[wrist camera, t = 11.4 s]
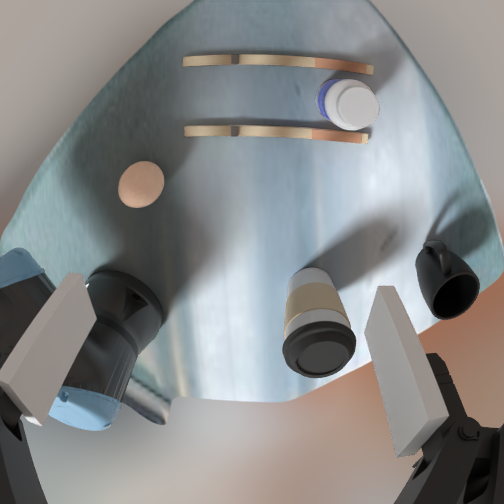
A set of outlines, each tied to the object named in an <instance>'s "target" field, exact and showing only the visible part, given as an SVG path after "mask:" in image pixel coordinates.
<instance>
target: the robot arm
mask: <svg viewBox="0 0 504 504" xmlns="http://www.w3.org/2000/svg"><path fill="white" fill-rule="evenodd" d="M162 318H163V315H162V309H161V306H160V303H159V301H158V299H157V298H156V296H155V295H154V294H153V292H152V291H151V290H150V289H149V288H148V287H147V286H146V285H144V284H143V283H142V282H140V281H139V280H137V279H136V278H134V277H132V276H130V275H128V274H125V273H122V272H118V271H101V272H98V273H95V274H93V275H92V276H91V277H89V278H88V280H87V281H86V282H84V279H83V275H82V274H79V273H68V275H67V276H66V277H65V279H64V280H63V281H62V282H61V284H60V285H59V286H58V287H57V288H56V287H55V286H54V284H53V283H52V282H51V280H50V279H49V278H48V276H47V275H46V274H45V270H44V269H43V268H41V267H40V266H39V265H38V263H37V262H36V261H35V260H34V258H33V257H32V256H31V255H30V253H29V252H28V251H27V250H25V249H23V248H14V249H12V250H10V251H9V252H7V253H6V254H5V255H3V256H2V257H0V504H48V503H47V501H46V498H45V496H44V493H43V490H42V488H41V485H40V482H39V479H38V476H37V473H36V470H35V467H34V464H33V461H32V457H31V454H30V450H29V446H28V443H27V439H26V435H25V431H24V428H23V423H22V421H21V420H20V416H21V414H23V415H24V416H25V417H26V419H27V420H28V421H29V422H32V423H34V424H37V425H40V426H43V424H44V422H45V420H46V418H47V416H48V415H50V416H52V417H53V418H55V419H57V420H59V421H61V422H63V423H65V424H68V425H70V426H73V427H77V428H80V429H85V430H92V431H93V430H94V431H99V430H104V429H107V428H108V427H110V426H111V425H112V423H113V421H114V419H115V417H116V415H117V413H118V410H119V409H120V408H121V403H122V400H123V397H124V394H125V391H126V388H127V385H128V382H129V379H130V376H131V373H132V371H133V368H134V365H135V362H136V360H137V357H138V355H139V354H140V353H141V352H142V351H143V350H144V349H145V347H146V346H147V345H148V344H149V343H150V342H151V341H152V340H153V339H154V338H155V337H156V335H157V334H158V331H159V329H160V326H161V323H162ZM364 334H365V337H366V341H367V344H368V347H369V351H370V354H371V358H372V361H373V365H374V369H375V372H376V376H377V380H378V384H379V387H380V391H381V395H382V399H383V403H384V407H385V411H386V415H387V419H388V424H389V428H390V432H391V436H392V441H393V446H394V450H395V455H396V458H399V457H404V456H410V455H414V454H415V453H417V452H418V450H419V449H420V448H421V447H422V451H423V456H422V457H421V458H420V459H419V460H418V461H417V462H416V463H415V464H414V465H413V466H412V467H413V468H415V467H416V468H415V470H414V472H413V473H412V475H411V477H410V478H409V480H408V482H407V483H406V485H405V487H404V488H403V490H402V492H401V493H400V495H399V497H398V498H397V500H396V501H395V503H394V504H504V424H503V425H502V426H501V427H500V428H488V427H481V426H480V424H479V423H478V422H477V421H476V420H475V419H473V418H470V417H468V416H467V414H466V412H465V410H464V407H463V405H462V402H461V400H460V397H459V395H458V392H457V390H456V387H455V385H454V384H453V380H452V378H451V375H449V371H448V369H447V366H446V364H445V362H444V361H443V360H442V359H441V358H440V357H439V356H438V354H437V353H430V354H425V352H424V350H423V348H422V345H421V343H420V341H419V338H418V336H417V334H416V331H415V329H414V327H413V325H412V323H411V320H410V318H409V316H408V314H407V312H406V310H405V308H404V305H403V303H402V301H401V299H400V297H399V295H398V293H397V291H396V289H395V287H394V286H378V288H377V291H376V295H375V298H374V302H373V305H372V309H371V312H370V315H369V319H368V322H367V325H366V328H365V331H364Z"/></svg>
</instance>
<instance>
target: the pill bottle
mask: <svg viewBox="0 0 504 504" xmlns="http://www.w3.org/2000/svg"><path fill="white" fill-rule="evenodd" d="M315 102H316V106H317V109H318V111H319V112H320V114H321V115H322V116H323V117H325V118H326V119H327V120H329V121H331V122H332V123H334V124H335V125H337V126H338V127H340V128H343V129H345V130H359V129H362V128H364V127H366V126H369V125H370V124H372V123H373V122H374V121H375V120H376V118H377V116H378V114H379V102H378V100H377V98H376V96H375V95H374V93H373V92H372V90H371V89H370V88H369V87H368V86H367V85H365V84H364V83H362V82H360V81H358V80H353V79H333V80H329V81H326V82H325V83H323V84H322V85H321V86H320V87H319V89H318V91H317V93H316V98H315Z"/></svg>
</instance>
